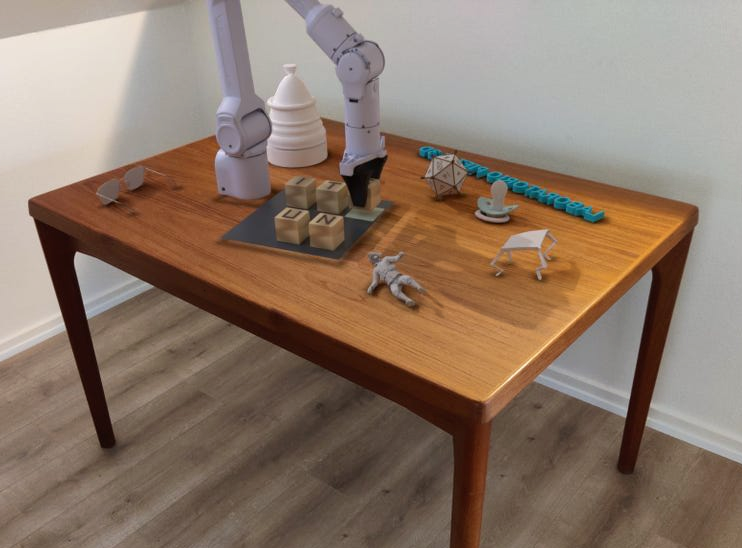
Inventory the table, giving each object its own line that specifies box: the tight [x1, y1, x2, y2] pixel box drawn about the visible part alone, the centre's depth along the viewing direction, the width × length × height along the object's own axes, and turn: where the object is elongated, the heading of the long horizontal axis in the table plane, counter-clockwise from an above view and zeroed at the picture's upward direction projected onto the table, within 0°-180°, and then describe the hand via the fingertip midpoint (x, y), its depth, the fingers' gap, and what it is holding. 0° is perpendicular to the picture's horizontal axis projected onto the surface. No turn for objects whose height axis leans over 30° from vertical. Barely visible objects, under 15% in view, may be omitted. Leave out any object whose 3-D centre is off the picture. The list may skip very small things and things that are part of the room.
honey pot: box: [266, 63, 328, 168], centre depth 151 cm, size 13×13×18 cm
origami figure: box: [489, 229, 559, 281], centre depth 112 cm, size 12×8×5 cm
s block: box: [348, 178, 382, 211], centre depth 127 cm, size 4×4×4 cm
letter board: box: [219, 175, 395, 261], centre depth 127 cm, size 22×24×5 cm
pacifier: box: [474, 180, 519, 224], centre depth 127 cm, size 7×6×6 cm
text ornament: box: [419, 146, 606, 223], centre depth 141 cm, size 45×3×1 cm, turn 39°
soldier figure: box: [366, 251, 427, 307], centre depth 108 cm, size 8×5×12 cm
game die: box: [419, 149, 473, 201], centre depth 135 cm, size 9×8×10 cm
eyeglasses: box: [95, 165, 179, 215], centre depth 139 cm, size 14×8×4 cm, turn 155°
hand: (364, 200), depth 128 cm, fingers closed on s block, 4 cm apart
